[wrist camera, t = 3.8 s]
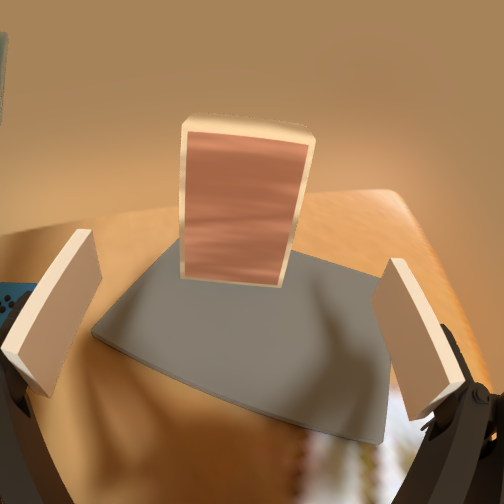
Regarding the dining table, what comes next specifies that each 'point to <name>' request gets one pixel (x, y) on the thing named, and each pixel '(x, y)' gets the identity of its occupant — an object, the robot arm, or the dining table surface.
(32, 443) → the robot arm
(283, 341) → the mat
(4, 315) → the handheld gaming device
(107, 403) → the dining table surface
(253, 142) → the birch board
